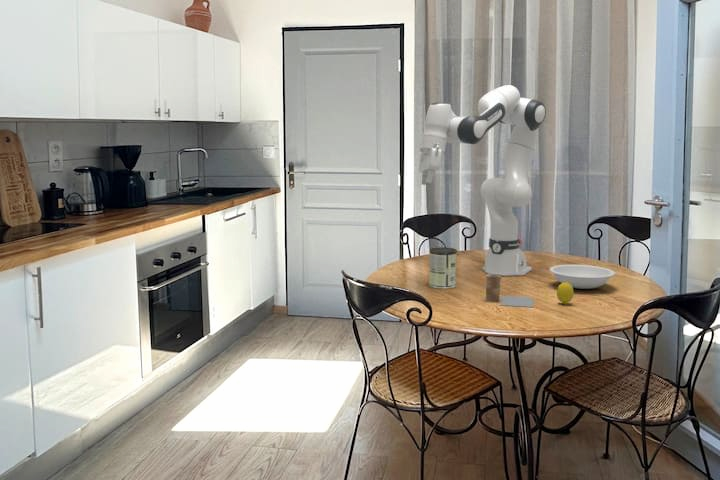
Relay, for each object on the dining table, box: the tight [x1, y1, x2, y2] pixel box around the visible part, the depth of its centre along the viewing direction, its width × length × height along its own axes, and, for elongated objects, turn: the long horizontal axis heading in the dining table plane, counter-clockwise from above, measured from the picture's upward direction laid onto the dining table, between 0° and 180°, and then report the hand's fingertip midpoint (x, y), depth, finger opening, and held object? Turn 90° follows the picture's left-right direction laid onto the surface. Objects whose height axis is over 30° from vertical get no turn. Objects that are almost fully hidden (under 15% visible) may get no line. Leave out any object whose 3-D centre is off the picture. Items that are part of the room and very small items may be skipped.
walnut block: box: [485, 273, 501, 303], centre depth 266 cm, size 4×4×9 cm
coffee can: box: [428, 246, 458, 290], centre depth 287 cm, size 10×10×14 cm
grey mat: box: [499, 295, 534, 308], centre depth 264 cm, size 11×14×1 cm
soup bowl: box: [549, 264, 616, 290], centre depth 287 cm, size 24×24×7 cm
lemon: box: [556, 282, 574, 305], centre depth 261 cm, size 6×6×8 cm
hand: (426, 183), depth 272 cm, fingers open, 8 cm apart
